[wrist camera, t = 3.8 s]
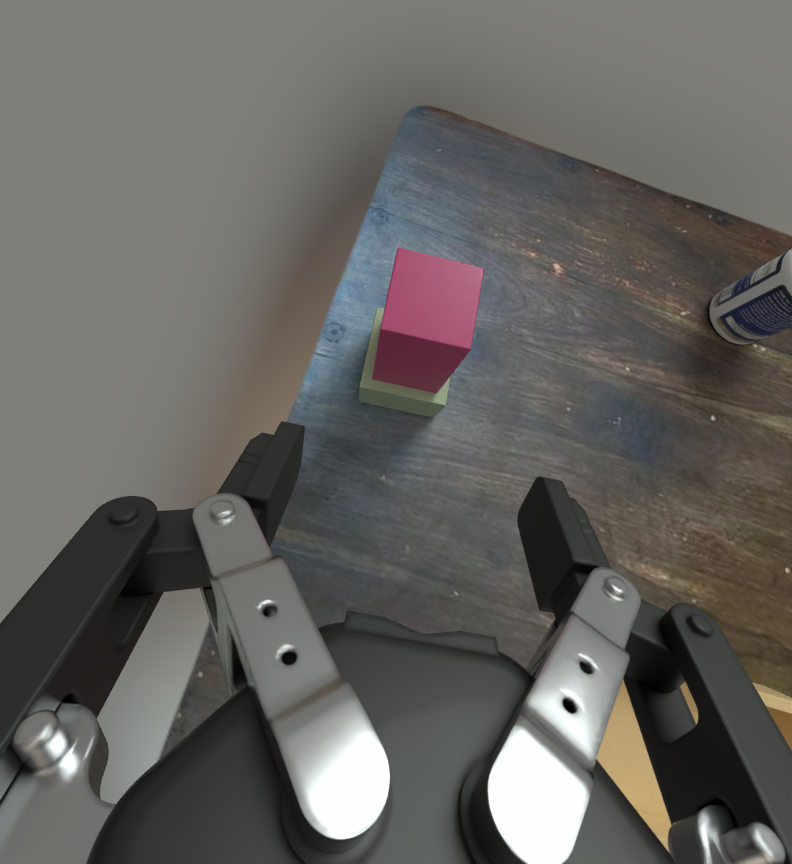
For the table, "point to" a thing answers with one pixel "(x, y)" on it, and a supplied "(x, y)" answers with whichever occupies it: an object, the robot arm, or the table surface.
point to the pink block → (426, 320)
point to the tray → (631, 760)
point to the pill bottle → (755, 303)
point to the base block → (396, 386)
